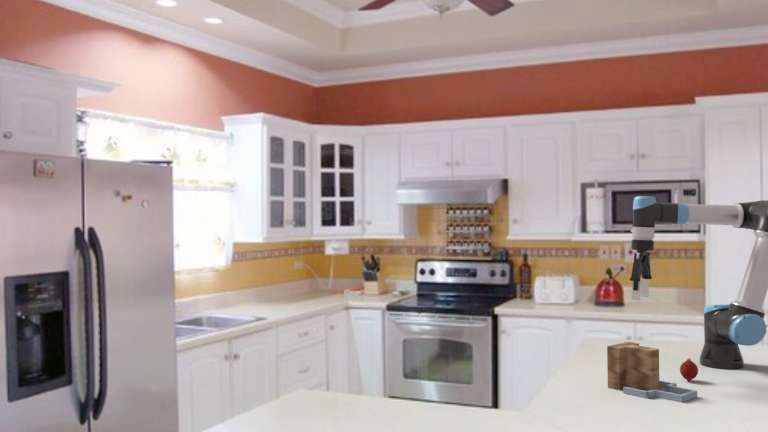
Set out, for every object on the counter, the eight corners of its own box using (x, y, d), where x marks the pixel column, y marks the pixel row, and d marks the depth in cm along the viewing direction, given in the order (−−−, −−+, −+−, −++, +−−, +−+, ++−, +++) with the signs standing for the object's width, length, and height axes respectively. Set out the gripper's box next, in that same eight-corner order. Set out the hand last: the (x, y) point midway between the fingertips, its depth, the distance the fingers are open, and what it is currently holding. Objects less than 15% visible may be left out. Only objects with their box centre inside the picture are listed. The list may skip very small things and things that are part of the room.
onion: (699, 383, 242) (699, 360, 242) (682, 382, 243) (681, 359, 243) (696, 379, 248) (695, 356, 248) (678, 378, 249) (678, 356, 249)
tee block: (665, 389, 235) (665, 347, 235) (645, 395, 228) (645, 352, 227) (627, 381, 246) (627, 341, 246) (607, 387, 238) (607, 346, 238)
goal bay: (703, 394, 228) (703, 388, 228) (675, 404, 217) (675, 398, 217) (651, 384, 242) (651, 378, 242) (623, 393, 231) (623, 387, 231)
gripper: (639, 238, 266) (637, 294, 267) (623, 238, 245) (620, 300, 246) (660, 239, 262) (658, 296, 263) (645, 240, 241) (643, 302, 242)
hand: (640, 298), depth 254 cm, fingers open, 13 cm apart
